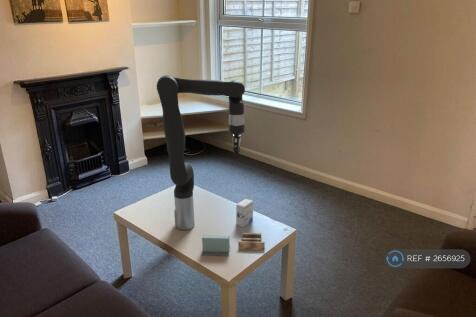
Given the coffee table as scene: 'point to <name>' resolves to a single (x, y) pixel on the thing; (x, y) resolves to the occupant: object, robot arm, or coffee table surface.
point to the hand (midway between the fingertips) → (236, 154)
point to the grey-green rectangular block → (215, 243)
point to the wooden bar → (251, 245)
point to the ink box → (244, 212)
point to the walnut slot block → (251, 237)
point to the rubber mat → (215, 253)
